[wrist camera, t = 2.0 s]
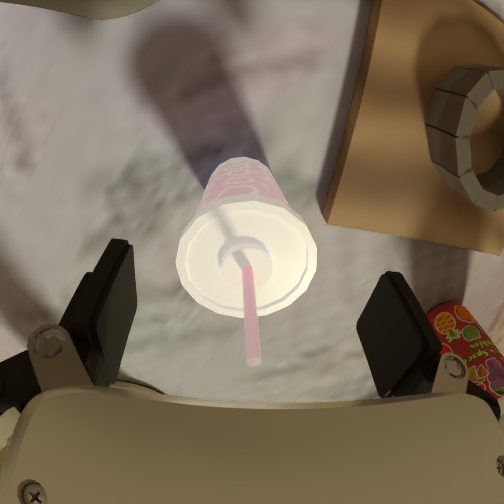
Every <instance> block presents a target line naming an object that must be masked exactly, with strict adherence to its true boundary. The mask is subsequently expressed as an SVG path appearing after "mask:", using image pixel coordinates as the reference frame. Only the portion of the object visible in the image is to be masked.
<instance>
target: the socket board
mask: <svg viewBox="0 0 504 504" xmlns="http://www.w3.org/2000/svg"><path fill="white" fill-rule="evenodd" d="M322 216H323V218H324V219H325V221H326V223H327V224H329V225H335V226H342V227H348V228H354V229H360V230H366V231H372V232H378V233H384V234H390V235H396V236H401V237H407V238H412V239H418V240H423V241H429V242H434V243H439V244H445V245H450V246H455V247H460V248H465V249H470V250H475V251H480V252H484V253H489V254H494V255H498V256H500V254H501V252H502V250H503V248H504V24H503V23H502V22H501V21H499V20H498V19H497V18H496V17H494V16H493V15H492V14H491V13H489V12H488V11H487V10H485V9H484V8H483V7H481V6H480V5H479V4H477V3H476V2H474V1H473V0H373V4H372V10H371V15H370V21H369V26H368V31H367V36H366V41H365V46H364V51H363V55H362V60H361V65H360V69H359V74H358V78H357V83H356V87H355V91H354V96H353V100H352V104H351V108H350V112H349V116H348V120H347V124H346V128H345V132H344V136H343V140H342V144H341V148H340V152H339V155H338V159H337V163H336V167H335V170H334V174H333V177H332V181H331V185H330V188H329V192H328V195H327V199H326V202H325V206H324V209H323V212H322Z"/></svg>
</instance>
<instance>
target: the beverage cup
mask: <svg viewBox="0 0 504 504" xmlns="http://www.w3.org/2000/svg"><path fill="white" fill-rule="evenodd" d="M316 257H317V247H316V244H315V242H314V240H313V238H312V236H311V234H310V232H309V230H308V228H307V226H306V224H305V222H304V221H303V219H302V217H301V216H300V215H299V214H297V213H296V212H295V211H294V210H292V209H291V208H290V206H289V204H288V203H287V201H286V199H285V197H284V195H283V193H282V192H281V190H280V188H279V186H278V184H277V183H276V181H275V179H274V177H273V176H272V174H271V172H270V170H269V168H267V167H266V166H265V165H263V164H262V163H261V162H260V161H258V160H255V159H251V158H247V157H239V158H231V159H229V160H227V161H225V162H224V163H222V164H220V165H219V166H218V167H217V168H216V170H215V171H214V172H213V173H212V175H211V176H210V179H209V181H208V184H207V186H206V189H205V191H204V194H203V196H202V199H201V201H200V204H199V207H198V209H197V212H196V214H195V216H194V217H193V219H192V220H191V221H190V223H189V224H188V225H187V226H186V228H185V229H184V230H183V234H182V236H181V239H180V243H179V248H178V253H177V259H176V266H177V270H178V273H179V277H180V280H181V283H182V285H183V287H184V288H185V289H186V290H187V291H188V292H189V294H190V295H191V296H192V297H193V298H194V299H195V301H196V302H197V303H199V304H201V305H203V306H205V307H207V308H209V309H210V310H212V311H214V312H216V313H218V314H223V315H229V316H234V317H240V318H244V325H245V344H246V362H247V364H248V365H249V366H258V365H260V364H261V363H262V359H261V349H260V338H259V328H258V317H257V316H263V315H268V314H270V313H273V312H275V311H277V310H280V309H282V308H284V307H287V306H289V305H290V304H291V303H292V302H293V301H294V300H296V299H297V298H298V297H299V296H300V295H301V294H302V293H303V292H304V291H306V289H307V287H308V285H309V283H310V281H311V279H312V277H313V275H314V273H315V271H316Z"/></svg>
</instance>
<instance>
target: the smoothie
mask: <svg viewBox="0 0 504 504" xmlns="http://www.w3.org/2000/svg"><path fill="white" fill-rule="evenodd" d="M426 316H427V318H428V320H429V322H430V323H431V325H432V327H433V329H434V331H435V333H436V335H437V336H438V338H439V340H440V342H441V344H442V346H443V349H442V350H441V352H440V354H441V356H442V355H443V354H444V353H448V352H449V353H454V354H456V355H458V356H459V357H461V358H462V359H463V361H464V362H465V363H466V365H467V367H468V370H469V377H468V379H469V380H470V381H472V382H473V383H475V384H476V385H478V386H479V387H481V388H482V389H484V390H485V391H487V392H488V393H489V394H491V395H492V396H493V397H495V398H496V399H497V400H498V402H499V405H500V409H501V415H500V417H501V416H502V415H504V357H503V356H502V354H501V353H500V351H499V350H498V349H497V347H496V346H495V345H494V343H493V342H492V341H491V339H490V338H489V337H488V335H487V334H486V333H485V331H484V330H483V329H482V327H481V326H480V325H479V324H478V322H477V321H476V320H475V319H474V317H473V316H472V315H471V314H470V312H469V311H468V310H467V309H466V307H464V306H461V305H458V304H457V303H455V302H446V303H443V304H440V305H439V306H437V307H435V308H434V309H432V310H431V311H430V312H429V313H428V314H427V315H426Z"/></svg>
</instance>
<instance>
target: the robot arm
mask: <svg viewBox="0 0 504 504" xmlns="http://www.w3.org/2000/svg"><path fill="white" fill-rule="evenodd" d="M136 309H137V294H136V282H135V268H134V251H133V245H129V243H128V241H127V240H123V239H114V238H113V239H111V241H110V242H109V244H108V246H107V247H106V249H105V251H104V253H103V254H102V256H101V258H100V260H99V261H98V263H97V265H96V267H95V269H94V271H93V272H87V273H86V274H85V275H84V277H83V278H82V280H81V282H80V284H79V286H78V288H77V289H76V291H75V293H74V295H73V297H72V299H71V301H70V303H69V305H68V307H67V309H66V311H65V313H64V315H63V317H62V319H61V321H60V323H59V325H50V324H49V325H45V326H42V327H40V328H38V329H36V330H35V331H34V332H33V333H32V334H31V336H30V338H29V340H28V344H27V347H28V350H26V351H23V352H21V353H19V354H17V355H15V356H13V357H11V358H8V359H6V360H4V361H2V362H0V451H1V450H2V448H3V447H4V446H5V445H6V444H7V443H8V442H7V441H6V440H7V439H8V438H9V437H10V436H11V435H12V436H11V439H10V441H9V445H8V448H7V451H6V455H5V459H4V463H3V467H2V468H1V466H0V504H504V415H502V416H501V417H500V415H501V409H500V405H499V402H498V400H497V399H496V398H495V397H493V396H492V395H491V394H489V393H488V392H487V391H485V390H484V389H482V388H481V387H479V386H478V385H476V384H475V383H473V382H472V381H470V380H469V379H468V377H469V370H468V367H467V365H466V363H465V362H464V361H463V359H462V358H461V357H459V356H458V355H456V354H454V353H449V352H448V353H444V354H443V355H442V356H441V354H440V352H441V350H442V349H443V346H442V344H441V342H440V340H439V338H438V336H437V335H436V333H435V331H434V329H433V327H432V325H431V323H430V322H429V320H428V318H427V316H426V314H425V313H424V311H423V309H422V307H421V306H420V304H419V302H418V300H417V299H416V297H415V295H414V294H413V292H412V290H411V288H410V287H409V285H408V283H407V282H406V280H405V279H404V277H403V275H402V274H401V273H399V272H392V271H387V272H386V273H385V274H383V275H381V277H380V279H379V281H378V283H377V285H376V287H375V289H374V291H373V293H372V295H371V297H370V299H369V300H368V302H367V304H366V306H365V308H364V310H363V312H362V314H361V316H360V317H359V319H358V321H357V325H356V329H357V332H358V335H359V338H360V341H361V344H362V347H363V350H364V352H365V355H366V358H367V361H368V364H369V367H370V370H371V373H372V376H373V380H374V383H375V386H376V389H377V392H378V395H379V396H380V397H382V398H381V399H369V400H356V401H339V402H312V403H270V402H242V401H225V400H212V399H201V398H191V397H182V396H173V395H164V394H160V393H158V392H156V391H154V390H152V389H149V388H147V387H144V386H140V385H137V384H133V383H128V382H120V381H116V379H117V375H118V371H119V367H120V364H121V360H122V356H123V353H124V349H125V346H126V342H127V339H128V335H129V332H130V329H131V325H132V322H133V319H134V316H135V312H136Z"/></svg>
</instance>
